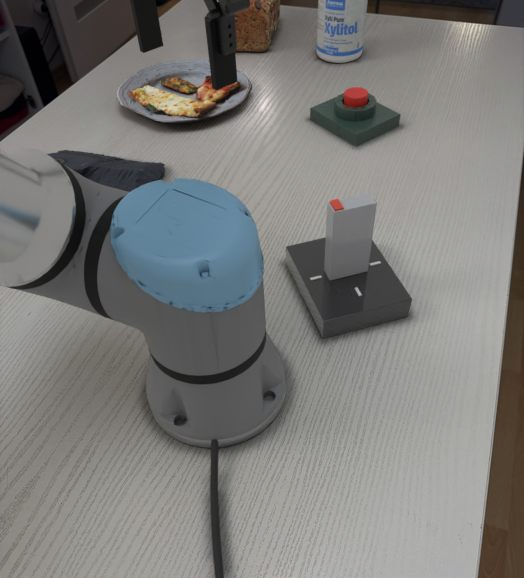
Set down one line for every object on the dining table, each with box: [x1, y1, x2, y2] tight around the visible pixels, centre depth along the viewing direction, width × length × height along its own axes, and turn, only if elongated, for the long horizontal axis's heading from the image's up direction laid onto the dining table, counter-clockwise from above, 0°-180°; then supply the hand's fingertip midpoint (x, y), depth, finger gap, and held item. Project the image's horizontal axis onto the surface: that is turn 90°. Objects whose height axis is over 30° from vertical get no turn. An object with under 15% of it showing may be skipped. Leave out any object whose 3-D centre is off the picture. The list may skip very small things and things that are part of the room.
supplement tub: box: [315, 0, 369, 64], centre depth 107 cm, size 10×10×15 cm
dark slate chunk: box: [46, 149, 166, 192], centre depth 85 cm, size 15×22×5 cm
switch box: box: [309, 92, 401, 147], centre depth 94 cm, size 12×10×4 cm
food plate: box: [116, 58, 253, 124], centre depth 103 cm, size 25×23×4 cm
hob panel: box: [285, 236, 413, 339], centre depth 68 cm, size 14×11×3 cm
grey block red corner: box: [324, 192, 378, 280], centre depth 63 cm, size 5×2×10 cm, turn 106°
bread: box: [235, 0, 281, 53], centre depth 118 cm, size 19×11×10 cm, turn 170°
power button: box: [343, 86, 369, 107], centre depth 92 cm, size 4×4×2 cm
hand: (186, 66), depth 59 cm, fingers open, 13 cm apart
